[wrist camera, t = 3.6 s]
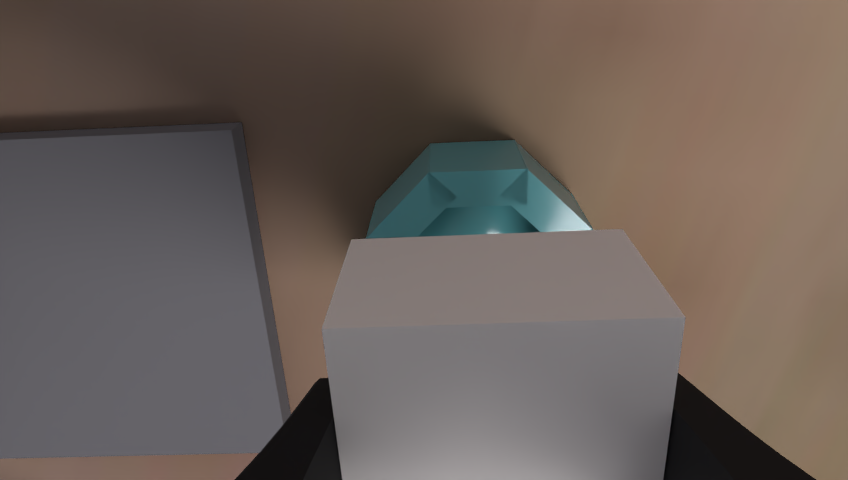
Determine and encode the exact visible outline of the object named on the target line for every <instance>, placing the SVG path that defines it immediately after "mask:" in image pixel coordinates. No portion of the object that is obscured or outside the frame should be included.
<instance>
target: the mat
mask: <svg viewBox="0 0 848 480" xmlns="http://www.w3.org/2000/svg"><path fill="white" fill-rule="evenodd" d="M290 415H291V412H290V407H289V401H288V395H287V389H286V383H285V377H284V371H283V365H282V359H281V353H280V347H279V341H278V335H277V329H276V324H275V318H274V312H273V306H272V300H271V294H270V288H269V282H268V276H267V270H266V264H265V258H264V252H263V247H262V241H261V235H260V229H259V223H258V217H257V211H256V205H255V199H254V193H253V187H252V181H251V175H250V169H249V164H248V158H247V152H246V146H245V140H244V134H243V128H242V122H238V123H215V124H193V125H170V126H147V127H124V128H102V129H79V130H56V131H33V132H11V133H0V459H1V458H47V457H93V456H139V455H185V454H231V453H260V452H261V450H262V449H263V448H264V447H265V446H266V444H267V443H268V442H269V441H270V440H271V438H272V437H273V436H274V435H275V434H276V432H277V431H278V430H279V429H280V428H281V426H282V425H283V424H284V423H285V421H286V420H287V419H288V418H289V416H290Z"/></svg>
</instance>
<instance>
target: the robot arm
mask: <svg viewBox="0 0 848 480" xmlns="http://www.w3.org/2000/svg"><path fill="white" fill-rule="evenodd" d="M235 480H342V474H341V467H340V459H339V452H338V445H337V437H336V430H335V423H334V415H333V408H332V401H331V393H330V386H329V379H328V378H320V379H319V380H318V381H317V382H316V383H315V384H314V385H313V386H312V388H311V389H310V390H309V392H308V393H307V394H306V396H305V397H304V398H303V400H302V401H301V402H300V404H299V405H298V406H297V407H296V409H295V410H294V411H293V413H292V414H291V415H290V416H289V418H288V419H287V420H286V421H285V423H284V424H283V425H282V426H281V428H280V429H279V430H278V431H277V432H276V434H275V435H274V436H273V437H272V438H271V440H270V441H269V442H268V443H267V444H266V446H265V447H264V448H263V449H262V450H261V452H260V453H259V454H258V455H257V456H256V457H255V458H254V459H253V461H252V462H251V463H250V464H249V465H248V466H247V467H246V468H245V469H244V470H243V471H242V472H241V473H240V475H239V476H238V477H237V478H236V479H235ZM663 480H816V479H814V478H813V477H812V476H810V475H809V474H807V473H806V472H804V471H803V470H802V469H800V468H799V467H797V466H796V465H795V464H793V463H792V462H790V461H789V460H787V459H786V458H785V457H783V456H782V455H780V454H779V453H778V452H776V451H775V450H774V449H772V448H771V447H770V446H768V445H767V444H766V443H764V442H763V441H762V440H760V439H759V438H758V437H757V436H755V435H754V434H753V433H751V432H750V431H749V430H748V429H746V428H745V427H744V426H742V425H741V424H740V423H739V422H737V421H736V420H735V419H734V418H732V417H731V416H730V415H729V414H728V413H726V412H725V411H724V410H723V409H721V408H720V407H719V406H718V405H717V404H715V403H714V402H713V401H712V400H710V399H709V398H708V397H707V396H706V395H704V394H703V393H702V392H701V391H700V390H698V389H697V388H696V387H695V386H694V385H692V384H691V383H690V382H689V381H687V380H686V379H685V378H684V377H683V376H681V375H680V374H679V373H678V375H677V382H676V390H675V397H674V404H673V412H672V419H671V426H670V434H669V441H668V448H667V456H666V463H665V470H664V478H663Z"/></svg>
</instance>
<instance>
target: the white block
mask: <svg viewBox="0 0 848 480" xmlns="http://www.w3.org/2000/svg"><path fill="white" fill-rule="evenodd" d="M684 324H685V316H684V315H683V313H682V312H681V311H680V309H679V308H678V306H677V305H676V304H675V302H674V301H673V299H672V298H671V297H670V295H669V294H668V292H667V291H666V290H665V288H664V287H663V285H662V284H661V283H660V281H659V280H658V278H657V277H656V276H655V274H654V273H653V271H652V270H651V269H650V267H649V266H648V264H647V263H646V262H645V260H644V259H643V257H642V256H641V255H640V253H639V252H638V250H637V249H636V248H635V246H634V245H633V243H632V242H631V241H630V239H629V238H628V236H627V235H626V234H625V232H624V231H623V229H612V230H585V231H558V232H532V233H505V234H479V235H452V236H426V237H399V238H373V239H351V242H350V245H349V248H348V251H347V254H346V257H345V260H344V263H343V266H342V269H341V272H340V275H339V278H338V281H337V284H336V287H335V290H334V293H333V296H332V299H331V302H330V305H329V308H328V311H327V314H326V317H325V320H324V323H323V326H322V335H323V342H324V349H325V357H326V364H327V371H328V379H329V386H330V393H331V401H332V408H333V415H334V423H335V430H336V437H337V445H338V452H339V459H340V467H341V474H342V480H663V478H664V470H665V463H666V456H667V448H668V441H669V434H670V426H671V419H672V412H673V404H674V397H675V390H676V382H677V375H678V368H679V360H680V353H681V346H682V338H683V331H684Z"/></svg>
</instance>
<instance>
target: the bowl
mask: <svg viewBox="0 0 848 480" xmlns="http://www.w3.org/2000/svg"><path fill="white" fill-rule="evenodd" d="M585 230H593V228H592V227H591V225H590V223H589V222H588V220H587V218H586V217H585V215H584V213H583V212H582V210H581V208H580V206H579V205H578V203H577V201H576V200H575V198H574V196H573V195H572V193H570V192H569V191H568V190H567V189H566V188H565V187H564V186H563V185H562V184H561V183H560V182H559V181H557V180H556V179H555V178H554V177H553V176H552V175H551V174H550V173H549V172H548V171H547V170H546V169H545V168H544V167H543V166H542V165H541V164H539V163H538V162H537V161H536V160H535V159H534V158H533V157H532V156H531V155H530V154H529V153H528V152H527V151H526V150H525V149H524V148H522V147H521V146H520V145H519V144H518V143H517V142H516V141H515V140H499V141H475V142H451V143H430V144H429V145H428V146H427V147H426V149H425V150H424V151H423V152H422V153H421V154H420V155H419V156H418V157H417V158H416V159H415V160H414V161H413V162H412V164H411V165H410V166H409V167H408V168H407V169H406V170H405V171H404V172H403V173H402V174H401V175H400V176H399V177H398V179H397V180H396V181H395V182H394V183H393V184H392V185H391V186H390V187H389V188H388V189H387V190H386V191H385V192H384V193H383V195H382V196H381V197H380V198H379V199H378V200H377V201H376V203H375V206H374V210H373V214H372V217H371V221H370V224H369V228H368V232H367V235H366V239H373V238H399V237H426V236H452V235H479V234H505V233H532V232H558V231H585Z"/></svg>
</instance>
